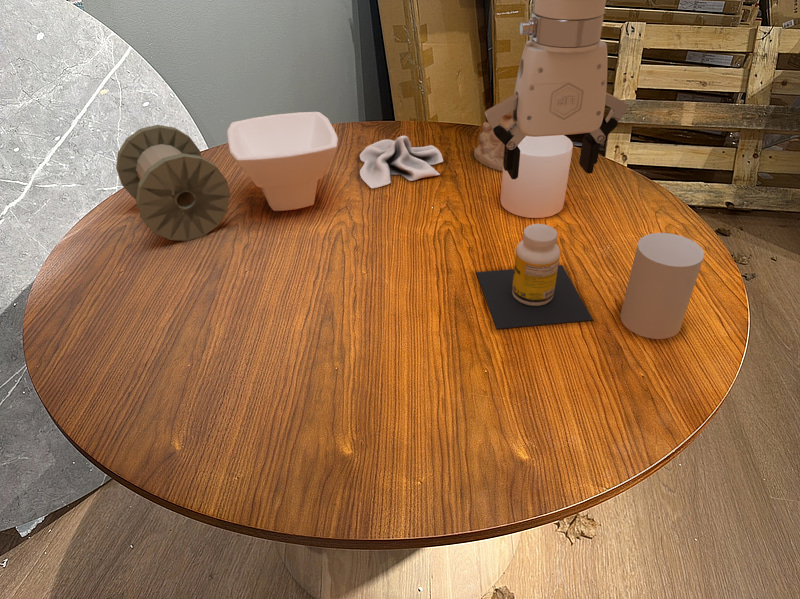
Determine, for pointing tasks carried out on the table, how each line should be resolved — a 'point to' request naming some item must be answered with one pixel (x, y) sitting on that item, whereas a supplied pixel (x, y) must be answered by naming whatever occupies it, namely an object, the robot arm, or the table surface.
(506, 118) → the statue
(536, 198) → the white cylinder
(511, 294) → the mat
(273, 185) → the bowl
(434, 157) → the cloth
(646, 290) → the grey upright cylinder
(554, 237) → the pill bottle
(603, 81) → the robot arm
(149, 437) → the table surface
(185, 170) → the spool
